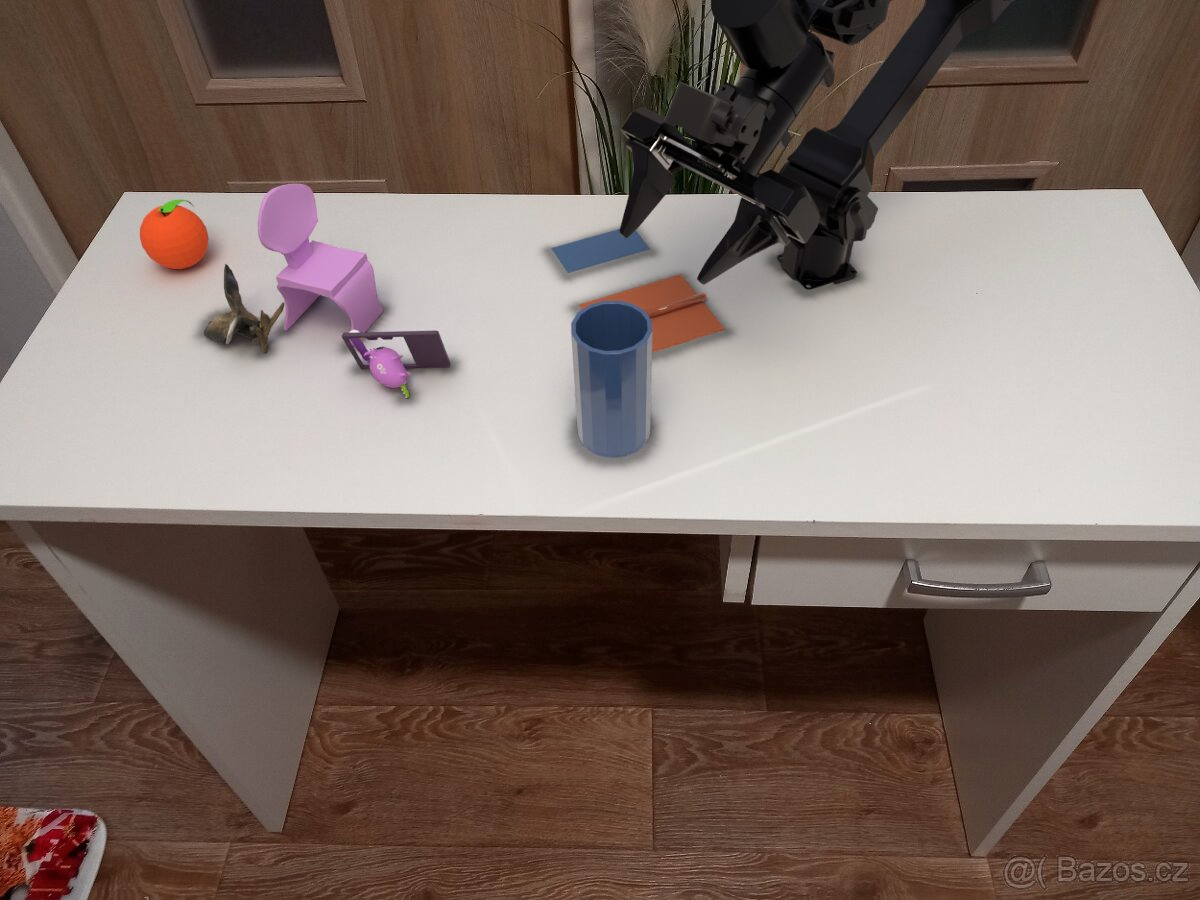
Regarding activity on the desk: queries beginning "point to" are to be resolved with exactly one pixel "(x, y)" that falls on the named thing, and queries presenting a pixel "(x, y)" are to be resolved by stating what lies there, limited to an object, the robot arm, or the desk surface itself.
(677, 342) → the terracotta mat
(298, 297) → the toy chair
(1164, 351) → the desk surface
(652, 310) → the terracotta spoon
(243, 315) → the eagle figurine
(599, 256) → the blue mat
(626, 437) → the blue tumbler
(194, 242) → the clementine
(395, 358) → the pink creature with frame
